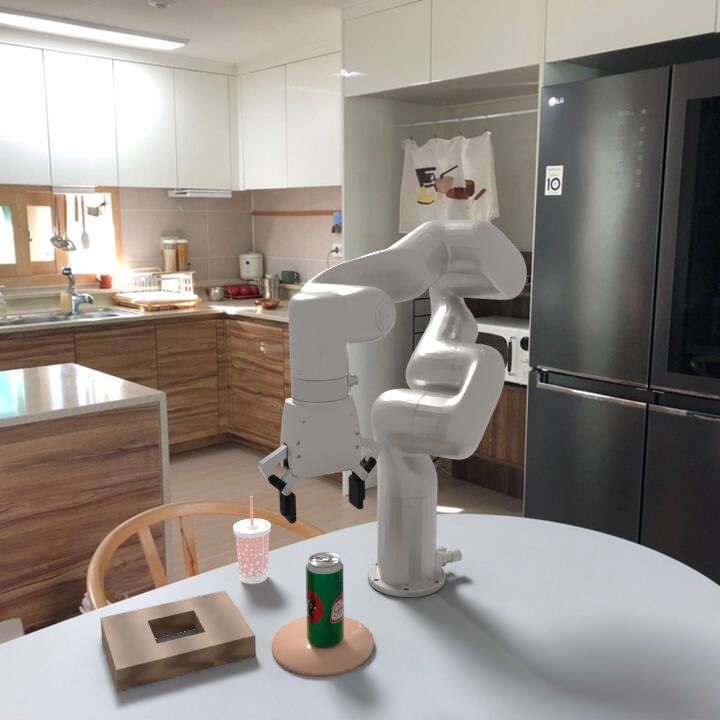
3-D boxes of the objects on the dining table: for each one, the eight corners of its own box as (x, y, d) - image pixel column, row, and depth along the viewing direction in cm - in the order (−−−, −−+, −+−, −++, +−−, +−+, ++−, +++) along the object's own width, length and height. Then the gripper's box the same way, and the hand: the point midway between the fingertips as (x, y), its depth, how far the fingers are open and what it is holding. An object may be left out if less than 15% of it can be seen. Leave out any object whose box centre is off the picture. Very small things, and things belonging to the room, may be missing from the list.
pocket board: (226, 608, 116) (225, 590, 115) (255, 655, 103) (255, 635, 103) (101, 637, 108) (100, 617, 107) (117, 691, 96) (116, 669, 95)
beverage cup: (257, 565, 130) (255, 486, 127) (279, 577, 126) (278, 496, 123) (227, 577, 126) (224, 496, 123) (249, 589, 121) (247, 506, 119)
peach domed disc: (347, 611, 115) (347, 606, 114) (391, 659, 102) (392, 654, 102) (257, 634, 109) (257, 629, 108) (294, 687, 96) (293, 682, 96)
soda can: (339, 652, 103) (338, 568, 100) (302, 648, 104) (301, 565, 101) (347, 632, 107) (346, 552, 105) (312, 628, 108) (311, 549, 106)
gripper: (367, 375, 106) (368, 492, 109) (246, 390, 98) (252, 515, 102) (393, 386, 99) (393, 510, 103) (266, 403, 92) (271, 536, 95)
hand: (323, 512), depth 102 cm, fingers open, 9 cm apart
